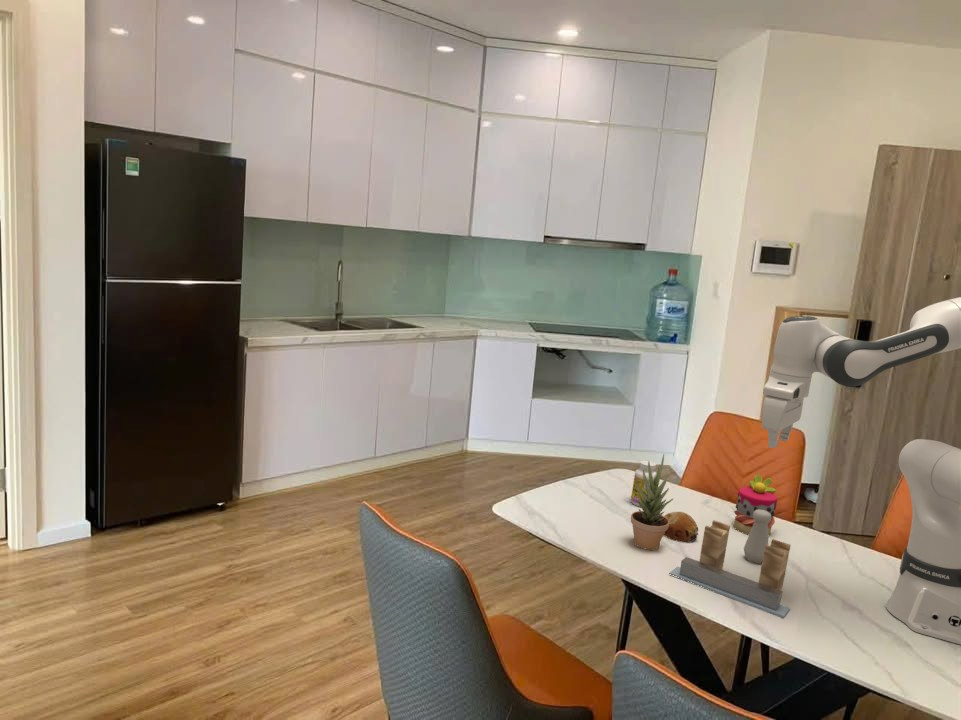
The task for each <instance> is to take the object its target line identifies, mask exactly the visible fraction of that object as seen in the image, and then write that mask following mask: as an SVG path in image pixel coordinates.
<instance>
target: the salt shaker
mask: <svg viewBox="0 0 961 720" xmlns="http://www.w3.org/2000/svg"><path fill="white" fill-rule="evenodd" d="M753 519H754V520H755V521H754V524H753V526H752V529H751V531H750V534H749V535H748V537H747V539H746V541H745V544H744V546H743V552H744V555H745V560H747V561H748V562H751V563H755V564H762V562H763V556H764V551H765V546H766V545H768V546H769V536H768V523H769V522H770V521H771V514H770V513H769V512H767V511H765V510H755V511H754V513H753Z"/></svg>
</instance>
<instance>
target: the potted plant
mask: <svg viewBox="0 0 961 720" xmlns="http://www.w3.org/2000/svg"><path fill="white" fill-rule="evenodd" d="M664 460H665V454H664V453H663V454H662V458H661V462H660V463H661V464H659V465H658V467H657V471H656V473H657V474H655V476H656V477H654V482H653V476H652V472H651V467H650V463H649V461H650V460H647V461H648V473H649V482H650V486H649V483H648V481H647V478H646V475H645V473H644V470H643V478H644V483H645V487H646V491H647V495H646V493H645V491H644V492H643V491H642V489H641V488H640V487H639V485H638V484H637V486H638V489H639V491H640V493H641V495H642V497H643V498H644V500H645V501H644V500H643V499H642V497H641V495H640V493H639V491H638V489H637V487H636V490H637V493H638V495H639V497H640V500H641V501H640V500H639V501H638V500H636V501H637V502H638V504H639V505H640V507H639V508H638V510H637V511H634V512H632V513H631V514H630V523H631V524H632V531H633V542H634V545H635V544H636V545H635V546H637V545H638V546H639V548H640V547H642V548H641V549H643V548H646V549H645V550H648V549H655V550H657V549H658V548H659V547H660V545H661V540H662V538H663V537H664V533H665V531H666V530H667V529H668V527H669V520H668V519H667V518H666V517H664V516H665V515H663V514H664V513H665V511H663V510H664V509H665V508H666V506H667V505H668V504H669V503H671V502H672V501H673V500H674V498H671V499H669V500H668V501H667V499H664V498H665V496H666V495H667V493H668V492H669V490H670V488H669V487H668V488H667V489H665V486H666V484H667V482H668V476H666V477H665V478H664V480H663V481H662V482H661V484H660V479H661V475H662V471H663V467H664V463H665V461H664ZM664 489H665V490H664ZM663 490H664V492H663ZM663 499H664V500H663ZM640 508H641V509H642V510H641V509H640ZM638 546H637V547H638Z"/></svg>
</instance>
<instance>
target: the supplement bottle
mask: <svg viewBox="0 0 961 720" xmlns="http://www.w3.org/2000/svg"><path fill="white" fill-rule="evenodd" d="M648 461H649V463H650V467H651V472H652V476H653V482H654V477H656V476H655V474H657V471H655V470H656V469H657V468H656V467H657V464H656V462H654V461H652V460H640V461H639V465H638V466H639V468H638V469H636V470H635V471H634V477H633V485H632V490H631V497H630V503H631V504H633V505H634V506H636V507H639V508H641V507H640V505H639V504H638V502H637V501H636V500H638V501H639V500H640V497H639V495H638V493H637V490H636V487H637V489H638V486H637V484H638V485H639V487H640V488H641V489H642V491H643V492H644V491H645V493H646V495H647V491H646V487H645V483H644V478H643V470H644V473H645V475H646V478H647V481H648V483H649V486H650V482H649V473H648ZM638 491H639V489H638ZM639 493H640V491H639ZM640 495H641V493H640ZM641 497H642V495H641ZM642 499H643V500H644V498H643V497H642ZM640 501H641V500H640ZM644 501H645V500H644Z"/></svg>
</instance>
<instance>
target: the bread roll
mask: <svg viewBox="0 0 961 720" xmlns="http://www.w3.org/2000/svg"><path fill="white" fill-rule="evenodd" d="M663 516H664V517H666V518H667V519H668V520H669V527H668V529H667V530H666V531H665V533H664V535H665V537H666V536H667V537H666V538H667V539H670V540H674V541H676V540H677V541H676V542H681V541H682V542H681V543H687V542H688V541H691V542H694V541H696V539H697V538H698V536H699V533H698V532H699V527H698V524H697V522H696V521H695V519H694V518H693V517H692V515H690V514H688V513H687V512H684V511H672V512H668V513H666V514H665V515H663ZM664 535H663V536H664ZM688 543H689V542H688Z"/></svg>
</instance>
